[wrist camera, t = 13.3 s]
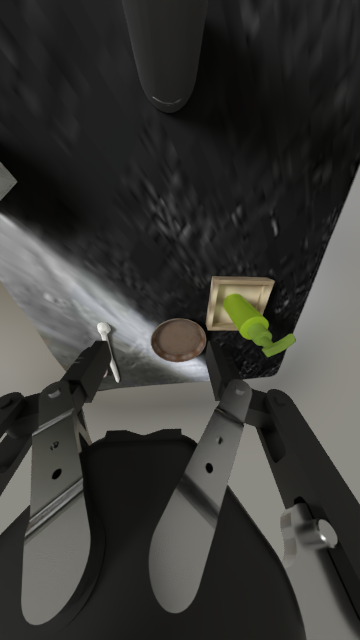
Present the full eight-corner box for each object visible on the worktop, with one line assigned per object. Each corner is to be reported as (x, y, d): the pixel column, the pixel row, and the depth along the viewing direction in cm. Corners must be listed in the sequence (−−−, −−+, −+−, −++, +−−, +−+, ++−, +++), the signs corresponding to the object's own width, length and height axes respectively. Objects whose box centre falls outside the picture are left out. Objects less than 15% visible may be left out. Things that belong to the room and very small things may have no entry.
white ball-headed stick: (126, 380, 60) (124, 386, 57) (116, 380, 60) (113, 386, 57) (110, 321, 46) (107, 326, 43) (97, 321, 45) (93, 326, 43)
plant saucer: (214, 323, 47) (216, 329, 45) (191, 361, 55) (192, 367, 53) (161, 306, 43) (160, 311, 41) (145, 349, 52) (144, 355, 49)
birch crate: (212, 276, 39) (215, 279, 36) (267, 277, 40) (274, 281, 37) (205, 323, 47) (207, 330, 44) (251, 324, 47) (256, 330, 44)
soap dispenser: (250, 301, 42) (302, 349, 25) (229, 315, 45) (264, 367, 27) (240, 286, 40) (290, 328, 23) (219, 302, 42) (250, 350, 25)
